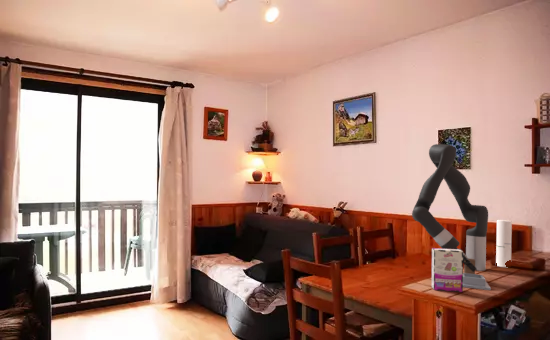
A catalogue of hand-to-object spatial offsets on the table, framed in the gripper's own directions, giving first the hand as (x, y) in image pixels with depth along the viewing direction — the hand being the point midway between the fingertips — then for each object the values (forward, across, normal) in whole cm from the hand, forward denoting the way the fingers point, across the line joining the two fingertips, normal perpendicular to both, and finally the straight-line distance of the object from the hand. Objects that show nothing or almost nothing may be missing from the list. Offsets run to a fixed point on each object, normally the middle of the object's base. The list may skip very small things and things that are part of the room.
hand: (474, 269), depth 178 cm
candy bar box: (-6, -25, +13) cm, 29 cm away
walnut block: (+2, 0, +4) cm, 5 cm away
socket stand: (+2, -11, +5) cm, 12 cm away
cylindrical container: (+18, +47, -10) cm, 51 cm away
